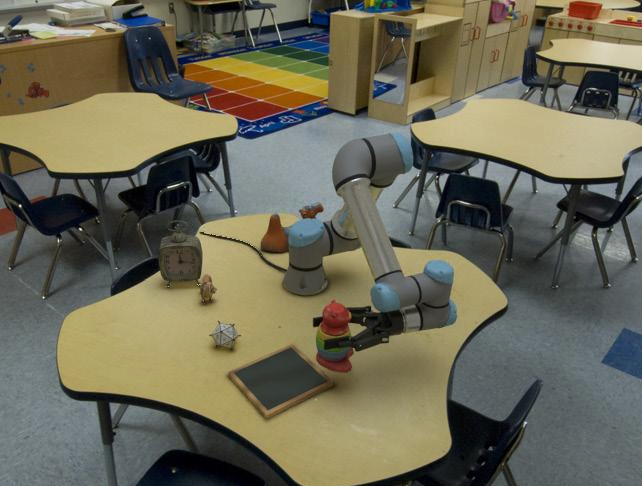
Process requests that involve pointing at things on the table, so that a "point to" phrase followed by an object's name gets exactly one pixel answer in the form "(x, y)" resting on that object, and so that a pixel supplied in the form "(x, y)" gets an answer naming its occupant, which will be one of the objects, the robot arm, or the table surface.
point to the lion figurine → (207, 288)
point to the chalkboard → (280, 380)
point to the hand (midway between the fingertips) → (318, 333)
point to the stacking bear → (331, 328)
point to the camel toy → (285, 229)
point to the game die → (225, 335)
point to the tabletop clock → (180, 257)
